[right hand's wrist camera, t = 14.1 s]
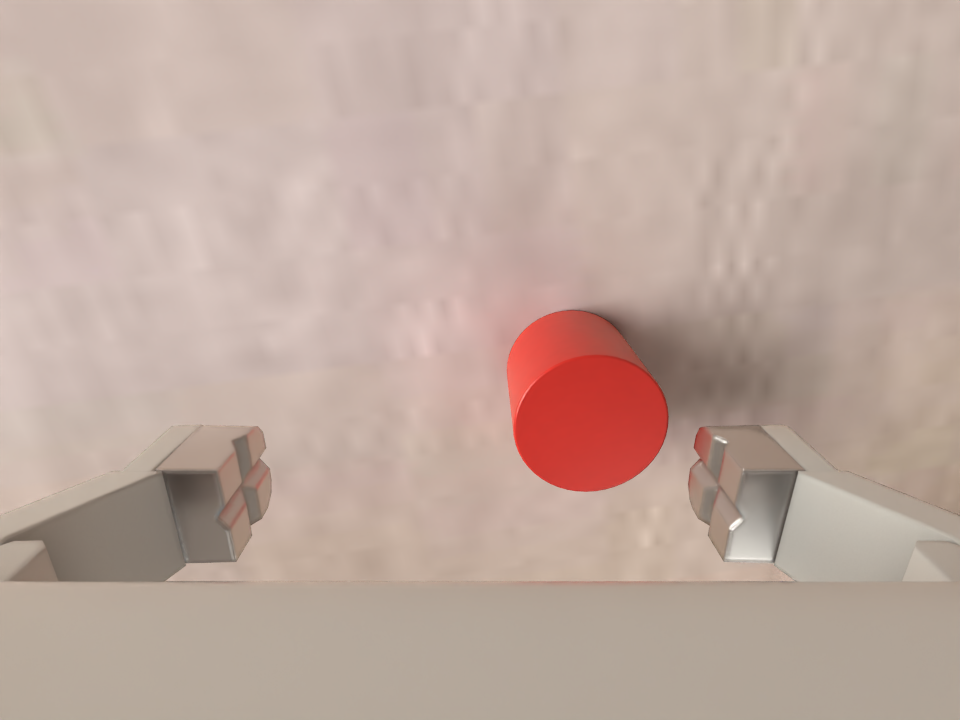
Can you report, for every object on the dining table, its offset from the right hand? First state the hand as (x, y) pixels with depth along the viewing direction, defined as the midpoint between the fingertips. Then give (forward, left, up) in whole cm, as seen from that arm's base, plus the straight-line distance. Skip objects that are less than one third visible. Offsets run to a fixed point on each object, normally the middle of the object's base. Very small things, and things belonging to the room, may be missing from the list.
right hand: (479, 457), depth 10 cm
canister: (+3, +2, -9) cm, 10 cm away
